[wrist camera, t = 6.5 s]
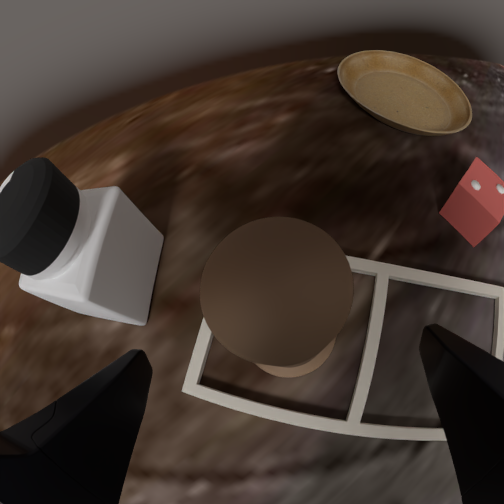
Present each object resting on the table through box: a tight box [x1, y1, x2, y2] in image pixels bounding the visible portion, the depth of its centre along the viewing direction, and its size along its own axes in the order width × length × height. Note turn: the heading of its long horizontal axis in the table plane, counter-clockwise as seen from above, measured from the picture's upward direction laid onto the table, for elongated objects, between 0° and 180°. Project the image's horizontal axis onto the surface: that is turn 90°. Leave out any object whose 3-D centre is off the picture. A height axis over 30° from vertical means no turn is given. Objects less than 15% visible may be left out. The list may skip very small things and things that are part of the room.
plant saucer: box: [338, 50, 472, 136], centre depth 23 cm, size 15×15×3 cm
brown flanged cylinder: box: [200, 217, 354, 378], centre depth 13 cm, size 6×6×10 cm
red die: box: [439, 157, 504, 247], centre depth 16 cm, size 4×4×4 cm
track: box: [182, 255, 504, 441], centre depth 15 cm, size 32×11×1 cm, turn 75°
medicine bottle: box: [0, 158, 164, 326], centre depth 16 cm, size 7×7×12 cm
